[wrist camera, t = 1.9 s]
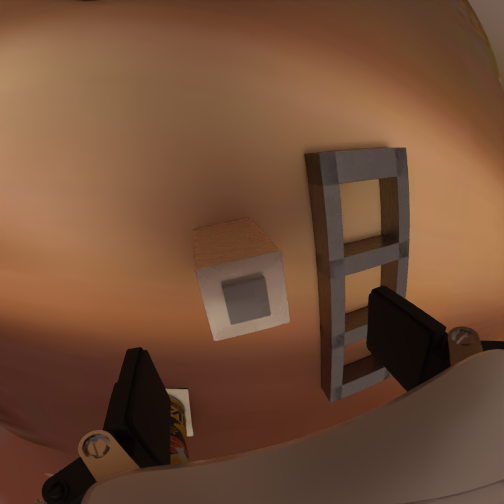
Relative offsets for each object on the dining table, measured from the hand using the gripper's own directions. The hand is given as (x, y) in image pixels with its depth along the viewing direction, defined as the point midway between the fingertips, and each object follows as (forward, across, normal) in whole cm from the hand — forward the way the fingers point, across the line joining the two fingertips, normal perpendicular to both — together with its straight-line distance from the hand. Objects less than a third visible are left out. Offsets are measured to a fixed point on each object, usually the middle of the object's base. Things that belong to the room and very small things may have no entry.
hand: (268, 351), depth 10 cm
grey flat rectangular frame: (+11, -11, +5) cm, 16 cm away
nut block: (+11, 0, -1) cm, 11 cm away
